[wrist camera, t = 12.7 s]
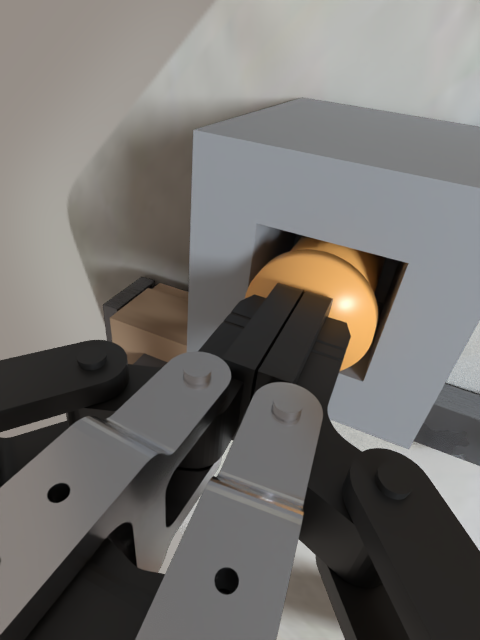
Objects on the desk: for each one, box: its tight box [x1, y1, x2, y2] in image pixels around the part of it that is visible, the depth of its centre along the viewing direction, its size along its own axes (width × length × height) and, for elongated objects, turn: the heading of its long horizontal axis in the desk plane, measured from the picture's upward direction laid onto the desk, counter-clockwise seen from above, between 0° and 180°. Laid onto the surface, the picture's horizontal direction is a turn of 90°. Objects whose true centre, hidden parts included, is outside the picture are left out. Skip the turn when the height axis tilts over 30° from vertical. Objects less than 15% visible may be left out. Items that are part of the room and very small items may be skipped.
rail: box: [103, 277, 480, 466], centre depth 24 cm, size 24×4×4 cm, turn 84°
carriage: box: [110, 283, 188, 367], centre depth 22 cm, size 7×6×12 cm
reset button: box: [245, 236, 386, 371], centre depth 13 cm, size 4×4×6 cm
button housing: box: [187, 98, 480, 449], centre depth 16 cm, size 8×9×10 cm
